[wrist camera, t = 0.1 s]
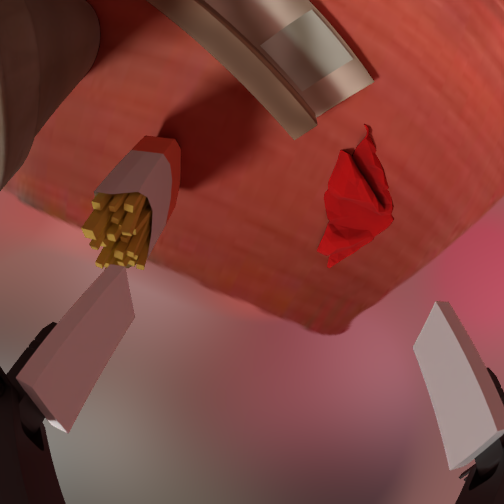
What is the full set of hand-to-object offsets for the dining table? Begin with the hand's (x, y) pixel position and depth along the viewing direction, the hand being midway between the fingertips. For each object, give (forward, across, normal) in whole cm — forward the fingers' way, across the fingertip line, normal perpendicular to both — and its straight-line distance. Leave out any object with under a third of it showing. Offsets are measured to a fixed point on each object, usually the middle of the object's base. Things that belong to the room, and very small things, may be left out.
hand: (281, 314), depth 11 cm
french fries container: (+30, -16, -1) cm, 34 cm away
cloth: (+32, +10, -5) cm, 34 cm away
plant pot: (+23, -31, +19) cm, 43 cm away
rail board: (+23, -5, +18) cm, 30 cm away
